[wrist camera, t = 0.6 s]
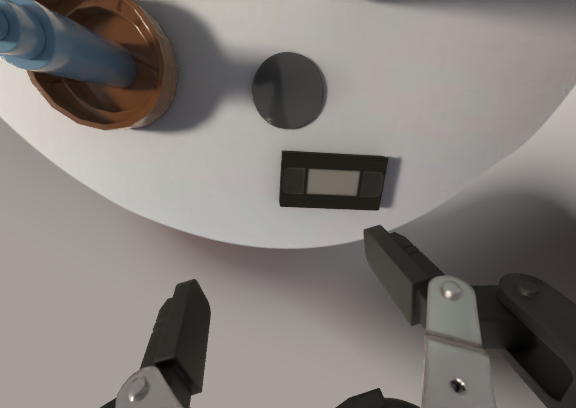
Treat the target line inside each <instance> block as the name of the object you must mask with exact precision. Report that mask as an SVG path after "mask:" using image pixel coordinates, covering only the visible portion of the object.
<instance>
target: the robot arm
mask: <svg viewBox="0 0 576 408" xmlns="http://www.w3.org/2000/svg"><path fill="white" fill-rule="evenodd" d="M364 242H365V254H366V258H367V261H368V264H369V265H370V267H371V269H372V270H373V272H374V273H375V275H376V276H377V277H378V279H379V280H380V282H381V283H382V284H383V286H384V287H385V289H386V290H387V292H388V293H389V295H390V296H391V298H392V299H393V300H394V302H395V303H396V305H397V306H398V307H399V309H400V310H401V312H402V313H403V315H404V316H405V318H406V319H407V320H408V322H409V323H410V325H411V326H413V325H416V324H420V323H421V325H422V326H423V327H424V329H425V345H424V366H423V386H422V405H421V408H496V402H495V395H494V389H493V382H492V375H491V368H490V361H489V356H488V352H487V350H486V348H487V349H488V348H489V349H496V350H497V351H498V352H499V353H500V354H501V355H502V356H503V358H504V359H505V360H506V361H507V362H508V363H509V364H510V366H511V367H512V368H513V369H514V370H515V371H516V372H517V374H518V375H519V376H520V377H521V378H522V379H523V381H524V382H525V383H526V384H527V385H528V386H529V387H530V389H532V391H533V392H534V393H535V394H536V395H537V397H538V398H539V399H540V400H541V401H542V402H543V403H544V405H545V406H546V407H547V408H576V304H575V303H573V302H572V301H571V300H569V299H568V298H566V297H565V296H564V295H562V294H561V293H560V292H558V291H557V290H555V289H554V288H553V287H551V286H550V285H548V284H547V283H545V282H543V281H542V280H540V279H538V278H536V277H533V276H530V275H525V274H519V273H513V274H507V275H505V276H503V277H502V278H501V279H500V282H499V285H492V286H491V285H490V286H471V285H469V284H467V283H466V282H465V281H463V280H461V279H459V278H456V277H453V276H446V275H445V274H444V273H443V272H442V271H441V270H439V269H438V268H437V267H436V266H435V265H434V264H433V263H432V262H431V261H430V260H429V259H428V258H427V257H426V256H425V255H423V253H422V252H420V251H419V250H418V249H417V248H416V247H415V246H413V244H412V243H411V242H410V241H409V240H408V239H407V238H406V237H404V236H402V235H400V234H398V233H395V232H393V233H390V234H389V233H388V232H387V231H386V230H385V229H384V228H383V227H382V226H381V225H378V226H374V227H371V228H367V229H364ZM210 316H211V311H210V306H209V302H208V300H207V298H206V297H205V295H204V293H203V291H202V289H201V287H200V285H199V284H198V282H197V280H195V279H193V280H189V281H186V282H182V283H179V284H177V285H176V288H175V292H174V295H173V298H169V299H167V301H166V302H165V303H164V305H163V306H162V307H161V309H160V311H159V314H158V316H157V320H156V323H155V325H154V328H153V333H152V334H151V337H150V340H149V343H148V346H147V349H146V352H145V355H144V358H143V361H142V364H141V367H140V370H138V371H137V372H135V373H134V374H133V375H132V376H130V377H129V378H128V379H127V381H126V382H125V383H124V384H123V386H122V387H121V389H120V391H119V393H118V395H117V397H116V398H115V399H113V400H112V401H110V402H108V403H107V404H105V405H104V406H102V407H100V408H190V407H189V406H190V399H191V395H194V394H197V393H201V392H202V385H203V376H204V367H205V359H206V351H207V342H208V333H209V325H210ZM336 408H420V407H418V406H416V405H414V404H411V403H409V402H407V401H403V400H399V399H394V398H384V397H383V395H382V392H381V390H380V388H377V389H374V390H371V391H369V392H366V393H362V394H359V395H357V396H353V397H350V398H348V399H347V400H346V401H344V402H343V403H342V404H340V405H339V406H337V407H336Z"/></svg>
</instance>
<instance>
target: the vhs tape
mask: <svg viewBox="0 0 576 408" xmlns="http://www.w3.org/2000/svg"><path fill="white" fill-rule="evenodd" d="M387 163H388V158H387V157H384V156H370V155H352V154H334V153H316V152H298V151H282V160H281V177H280V197H279V203H280V206H281V207H301V208H326V209H352V210H379V207H380V202H381V196H382V191H383V185H384V180H385V174H386V169H387Z"/></svg>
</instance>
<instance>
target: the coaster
mask: <svg viewBox="0 0 576 408" xmlns="http://www.w3.org/2000/svg"><path fill="white" fill-rule="evenodd" d="M252 93H253V100H254V103H255V106H256V108H257V110H258V112H259V114H260V115H261V116H262V117H263V118H264V119H265V120H266V121H267V122H268V123H270V124H271V125H273V126H275V127H278V128H282V129H293V128H298V127H300V126H302V125H304V124H306V123H307V122H309V121H310V120H311V119H312V118H313V117H314V116H315V114H316V113H317V111H318V109H319V107H320V104H321V101H322V96H323V86H322V80H321V77H320V75H319V72H318V71H317V69H316V67H315V66H314V65H313V64H312V63H311V62H310V61H309V60H308V59H307V58H305V57H304V56H302V55H299V54H297V53H292V52H282V53H278V54H275V55H273V56H271V57H269V58H268V59H267V60H265V61H264V62H263V63H262V65H261V66H260V67H259V69H258V70H257V72H256V75H255V77H254V81H253V87H252Z"/></svg>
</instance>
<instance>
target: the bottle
mask: <svg viewBox="0 0 576 408" xmlns="http://www.w3.org/2000/svg"><path fill="white" fill-rule="evenodd" d="M0 56H1V57H2V58H3V59H4V60H6V61H7V62H8V63H10V64H12V65H14V66H16V67H18V68H21V69H25V70H30V71H35V72H40V73H44V74H49V75H54V76H58V77H63V78H68V79H73V80H77V81H82V82H87V83H91V84H96V85H101V86H106V87H110V88H115V89H124V88H127V87H129V86H130V85H131V84H132V83H133V82H134V81H135V79H136V76H137V65H136V62H135V59H134V57H133V55H132V54H131V53H130V51H129V50H128V49H127V48H125V47H124V46H123V45H121V44H119V43H117V42H115V41H113V40H111V39H109V38H107V37H105V36H103V35H101V34H99V33H97V32H95V31H93V30H91V29H89V28H87V27H85V26H83V25H81V24H79V23H78V22H76V21H74V20H72V19H70V18H68V17H66V16H64V15H62V14H60V13H58V12H56V11H54V10H52V9H50V8H48V7H46V6H44V5H42V4H40V3H38V2H36V1H34V0H0Z"/></svg>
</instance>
